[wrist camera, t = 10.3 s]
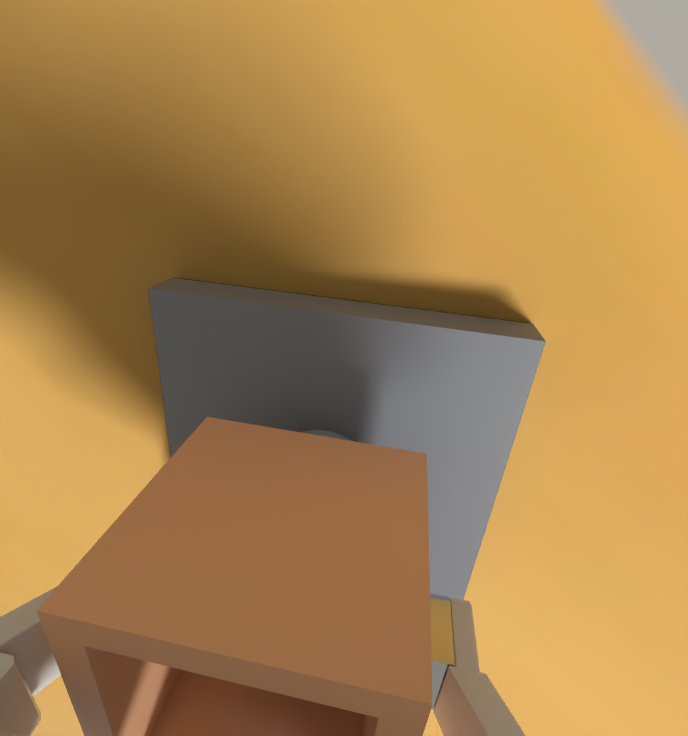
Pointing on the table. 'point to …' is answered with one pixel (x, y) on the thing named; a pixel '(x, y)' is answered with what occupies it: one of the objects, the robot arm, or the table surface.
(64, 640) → the sleeve
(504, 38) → the table surface
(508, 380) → the base
